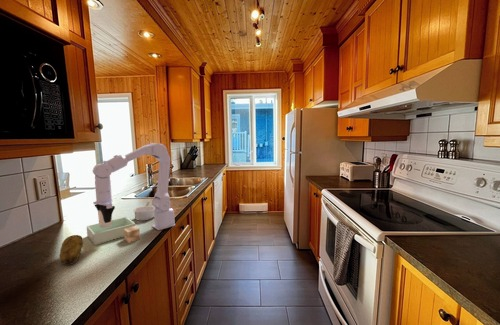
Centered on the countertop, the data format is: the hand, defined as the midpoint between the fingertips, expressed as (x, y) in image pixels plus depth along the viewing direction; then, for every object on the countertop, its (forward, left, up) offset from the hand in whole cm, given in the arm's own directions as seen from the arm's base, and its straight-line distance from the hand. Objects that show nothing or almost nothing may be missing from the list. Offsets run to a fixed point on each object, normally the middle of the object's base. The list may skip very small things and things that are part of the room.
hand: (105, 220), depth 101 cm
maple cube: (-9, +5, -10) cm, 14 cm away
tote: (-4, -7, -10) cm, 13 cm away
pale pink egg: (0, 0, -2) cm, 2 cm away
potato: (+14, +6, -10) cm, 18 cm away
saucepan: (-26, -22, -10) cm, 36 cm away
